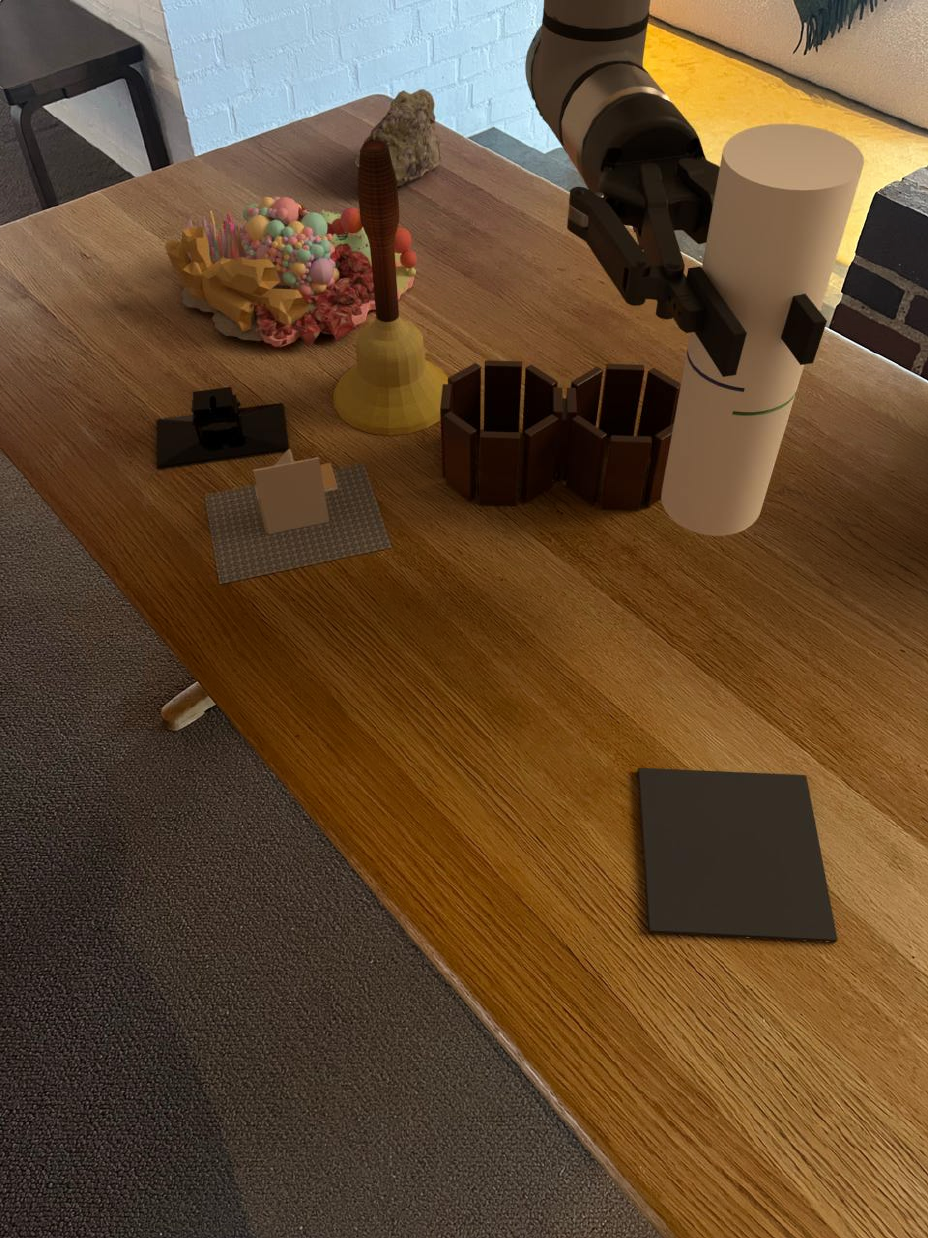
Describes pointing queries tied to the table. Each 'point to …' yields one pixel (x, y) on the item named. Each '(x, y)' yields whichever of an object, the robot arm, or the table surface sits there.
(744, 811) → the mat
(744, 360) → the cylindrical container
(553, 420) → the holder
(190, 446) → the build plate
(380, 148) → the handbell
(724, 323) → the robot arm
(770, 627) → the table surface
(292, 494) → the architectural model
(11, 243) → the table surface
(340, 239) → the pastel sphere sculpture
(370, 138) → the mineral rock
